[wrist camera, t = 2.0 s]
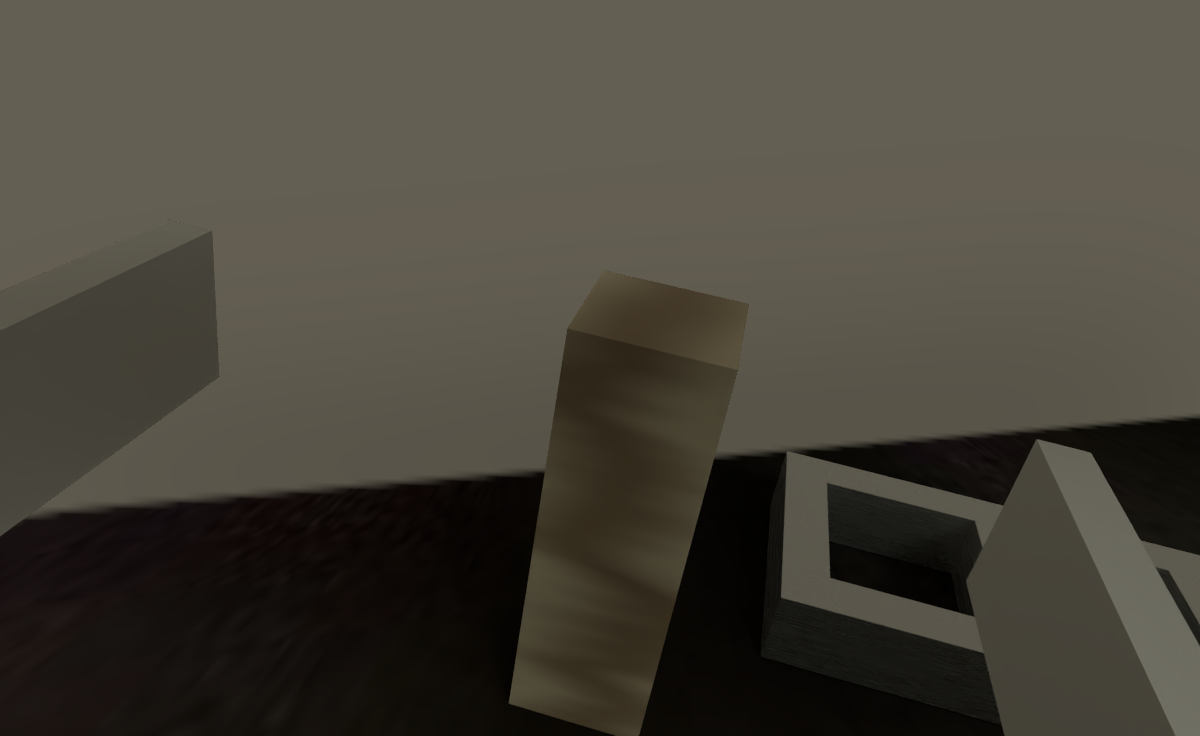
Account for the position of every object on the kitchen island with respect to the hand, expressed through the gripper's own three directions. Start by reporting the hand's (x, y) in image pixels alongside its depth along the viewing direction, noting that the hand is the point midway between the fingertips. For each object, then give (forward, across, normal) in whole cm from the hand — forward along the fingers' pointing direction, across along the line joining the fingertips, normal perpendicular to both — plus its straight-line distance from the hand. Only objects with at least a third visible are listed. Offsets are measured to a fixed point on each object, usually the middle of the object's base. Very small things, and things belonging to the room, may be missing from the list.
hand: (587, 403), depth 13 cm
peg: (+10, 0, -16) cm, 19 cm away
